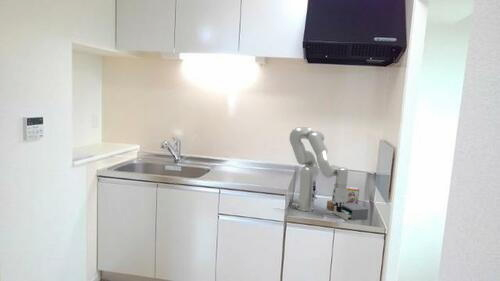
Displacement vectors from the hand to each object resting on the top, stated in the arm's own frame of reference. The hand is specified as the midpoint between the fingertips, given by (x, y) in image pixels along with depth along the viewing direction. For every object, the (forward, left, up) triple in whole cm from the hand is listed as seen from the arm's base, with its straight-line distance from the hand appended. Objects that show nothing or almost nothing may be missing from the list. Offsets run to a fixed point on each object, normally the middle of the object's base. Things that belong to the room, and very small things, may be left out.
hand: (338, 211), depth 225 cm
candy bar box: (+19, +16, -4) cm, 25 cm away
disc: (+8, +1, -2) cm, 8 cm away
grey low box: (+13, +1, -4) cm, 14 cm away
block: (+4, +16, -4) cm, 17 cm away
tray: (+8, +1, -4) cm, 9 cm away
